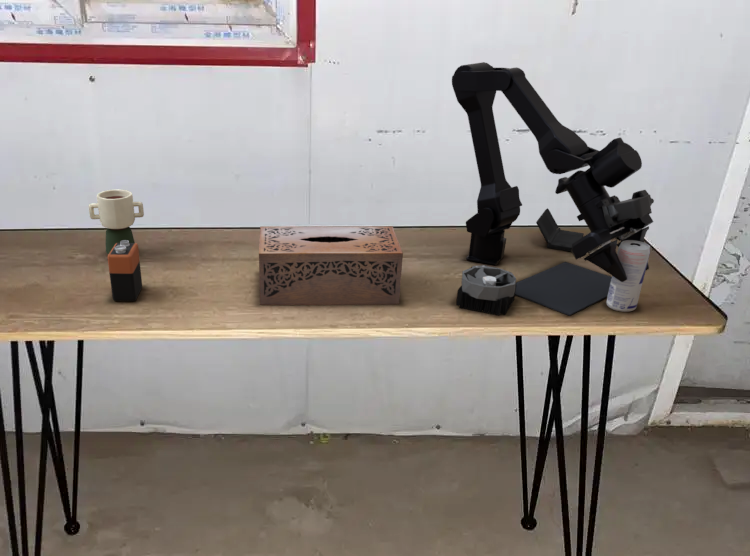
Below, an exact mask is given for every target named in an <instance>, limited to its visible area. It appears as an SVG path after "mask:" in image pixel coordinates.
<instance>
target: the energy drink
mask: <svg viewBox="0 0 750 556" xmlns="http://www.w3.org/2000/svg"><path fill="white" fill-rule="evenodd" d="M620 242H621V241H620ZM616 253H617V256H618V258H619V260H620V262H621V264H622V266H623V269H624V271H625V273H626V276H627V280H626V281H624V282H621V281H619V280H618V279H616V278H615V277H613V276H612V275H611V277H612V279H611V283H610V287H609V292H608V296H607V297H606V301H605V304H606V306H607V307H608V308H610V309H611V310H613V311H616V312H623V313H629V312H633V311H635V310H636V309H637V307H638V303H639V300H640V295H641V292H642V287H643V283H644V278H645V275H646V272H647V270H646V267H647V263H648V264H649V258H650V254H651V245H650V244H648V243H647V242H645V241H644V242H640V241H634V240H626V241H622V242H621V244H620V246H619V247H618V246H617V251H616Z"/></svg>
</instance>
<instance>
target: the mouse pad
mask: <svg viewBox="0 0 750 556" xmlns="http://www.w3.org/2000/svg"><path fill="white" fill-rule="evenodd" d="M611 279H612V276H611V275H607V274H604V273H601V272H598V271H595V270H592V269H590V268H589V269H588V268H586V267H583V266H581V265H580V266H579V265H576V264H574V263H570V262H567V261H564V262H561V263H559V264H557V265H554V266H552V267H550V268H547V269H545V270H543V271H540V272H538V273H535V274H533V275H531V276H528V277H526V278H524V279H522V280H519V281H517V282H516V285H517V286H516V292H515V297H519V298H521V299H524V300H526V301H529V302H531V303H534V304H537V305H539V306H542V307H545V308H547V309H550V310H553V311H555V312H558V313H561V314H564V315H566V316H568V317H570V316H572V315H574V314H576V313H578V312H580V311H583V310H584V309H586V308H588V307H590V306H593V305H594V304H597V303H598V302H600V301H602V300H604V299H607V296H608V292H609V287H610V283H611Z"/></svg>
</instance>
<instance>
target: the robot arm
mask: <svg viewBox="0 0 750 556" xmlns="http://www.w3.org/2000/svg"><path fill="white" fill-rule="evenodd" d="M451 86H452V89H453V92H454V96H455V98H456V101H457V103H458V104H459V105H460V106H461V108H462V109H463V111H465V112H464V113H466V114H467V115H466V116H467V119H468V125H469V130H470V135H471V140H472V144H473V152H474V156H475V161H476V166H477V171H478V176H479V181H480V188H479V192H478V196H477V200H476V206H477V207H476V208H477V209H476V210H477V213H475V214H474V215H472V216H471V217H470V218H468V219H467V220H466V221H465V227H466V232H467V233H470V240H469V249H468V255H467V256H466V257H465V260H466V261H470V262H475V263H481V264H485V265H490V266H491V265H492V266H496V265H498V263H499V262H500V261H502V259H503V258H504V256H505V252H506V251H505V250H506V244H507V237H505V232H506V230H509V229H511V227H512V224H513V223H515V222H516V221H517V220H518V218H519V216H520V214H521V207H522V206H523V203H522V201H521V198H520V189H519V187H518V185H514V186H511V185H510V184H509V182H508V181H507V178H506V175H505V170H504V163H503V158H502V153H501V148H500V147H501V146H500V143H499V138H498V137H499V136H498V132H497V126H496V120H495V114H494V110H493V109H494V108H493V107H494V102H495V98H496V94H497V92H498V91H499V92H501V93H502V94H503V95H504V97H505V98H506V99H507V101H508V103H509V104H510V105H511V107H512V108H513V109H514V110H515V112H516V113H517V114H518V116H519V118H521V120H522V121H523V122H524V124H525V126H526V127H527V128H528V129H529V131H530V133H531V134H532V135H533V136H534V138H535V140H536V142H537V145H538V146H537V147H538V153H539V155H540V157H541V159H542V162H543V163H544V165H545V167H546V169H547V170H548V171H549V172H550V173H552V175H553V174H554V175H555V174H556V175H563V174H566V173H569V172H573V171H575V172H574V173H572V174H571V175H570V176H569V177H568V176H564V177H561V178H558V181H557V185H556V188H555V192H554V193H555V194H556V195H559V194H562V193H565V192H567V193H568V194H569V197H570V198H571V200H572V202H573V203H574V205H575V207H576V209H577V210H578V212H579V213H580V214H578V215H577V216H576V219H577V220H578V222H582V221H584V222H585V223H586V224H585V225H586V226H587V228H588V229H589V231H590V232H589V233H587V234H585V235H583V237H582V238H581V239H579V240H578V241H576V242H575V243H573V244H572V248H571V252H570V253H572V255H573V257H574V259H575V260H578V259H581V258H583V257H584V258H583V260H584V262H586V261H587V262H589V263H592V264H593V265H594V266H596V267H598V268H599V269H601V270H603V271H604V272H606V273H607V274H609V276H611V277H612V276H613V277H615V278H616V279H618V280H619V281H621V282H624V281H626V280H627V276H626V273H625V271H624V269H623V266H622V264H621V262H620V260H619V258H618V256H617V251H616V250H617V248H618V247H619V246H620V244H621V242H622V241H626V240H634V241H640V242H644V243H645V237H646V235H647V233H648V231H649V230H650V225H651V224H653V223H654V220H653V218H652V217H651V215H650V214H652V208H651V206H652V205H653V204H654V203H655V199H654V198H652V197H651V194H649V192H648V191H647V190H646V189H641V190H638V191H635V192H633V193H632V196H631V198H628V199H625V200H620V199H619V197H618V196H616V195H612V196H610V194H609V192H608V191H607V189H606V187H607V188H609V189H610V188H615V187H616V186H618V185H619V184H621V183H622V182H623V181H625V180H626V179H628V178H630V177H631V176H632V175H634V174H635V173H637V172H638V171H640V170H641V169H642V166H643V162H642V161H643V160H642V158H641V155H640V153H639V152H638V150H637V149H636V150H635V148H633V147H632V146H631V145H630V144H629V143H626V142H625V141H624V140H623V138H622V137H616V138H613V139H612V140H610V141H609V142H608V143H607V145H606V146H605V147H603V148H602V149H601V150H598V149H596V148H593V147H590V146H588V144H587V142H586V141H585V140H584V139H583V138H582V137H581V136H579V134H578V133H576V132H575V131H574V130H572V129H570V128H569V127H567V126H565V125H563V124H562V123H561V122H560V121H559V120H558V119H557V117H556V116H555V114H553V112H552V111H551V109H550V107H548V105H547V104H546V103H545V101H544V100H543V98H542V97H541V96H540V95H539V93H538V92H537V90H536V89H535V88H534V86H533V85H532V83H531V82H530V81H529V80H528V79H527V77H526V74H525V71H524V70H523V69H521V68H520V67H511V68H510V67H494V66H493V65H490V64H489V63H488V62H484V61H481V62H476V63H468V64H462V65H460V66H458V67H457V68H456V69H455V71H454V73H453V74H452V76H451ZM585 167H589V168H587V169H586V170H581V169H583V168H585ZM576 170H577V171H576ZM614 239H615V240H614ZM611 240H613V241H611ZM618 241H620V242H618ZM587 254H588V255H587ZM649 269H650V266H649V262H648V263H647V267H646V271H648V270H649Z"/></svg>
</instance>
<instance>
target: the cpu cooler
mask: <svg viewBox="0 0 750 556" xmlns="http://www.w3.org/2000/svg"><path fill="white" fill-rule="evenodd" d="M461 272H462V273H461V285H460V286H459V288H458V289H457V294H456V302H455V303H456V304H455V305H456V306H459V309H464V310H468V311H469V310H470V311H474V312H477V313H478V312H480V313H485V314H490V315H494V316H500V315H503V316H505V315H506V314H507V313H508V311H509V309H510V307H511V306H512V304H513V303H514V301H515V298H516V295H515V292H516V286H517V285H516V283H517V282H516V281H517V277H516V276H515V275H514V273H513V272H512V271H508V270H506V269H503V268H501V267H497V266H496V267H495V266H488V265H487V264H485V265H471V267H469V268H466V269H464V270H462V271H461Z"/></svg>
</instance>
